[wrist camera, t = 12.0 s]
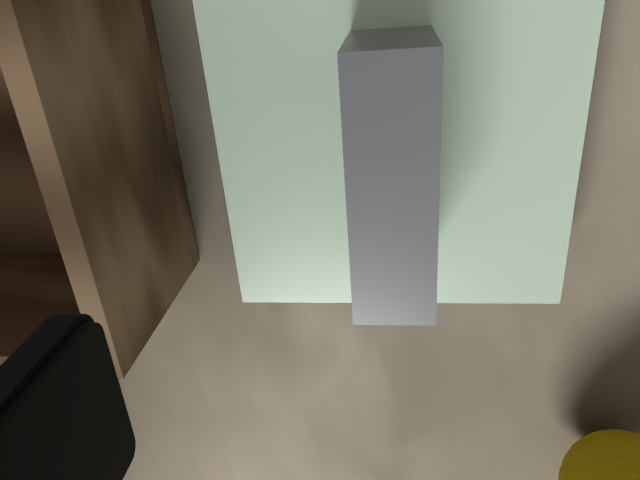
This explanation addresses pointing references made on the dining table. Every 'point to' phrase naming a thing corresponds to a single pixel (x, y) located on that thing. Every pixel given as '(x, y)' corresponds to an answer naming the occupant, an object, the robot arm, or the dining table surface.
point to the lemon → (603, 457)
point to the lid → (399, 147)
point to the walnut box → (88, 173)
